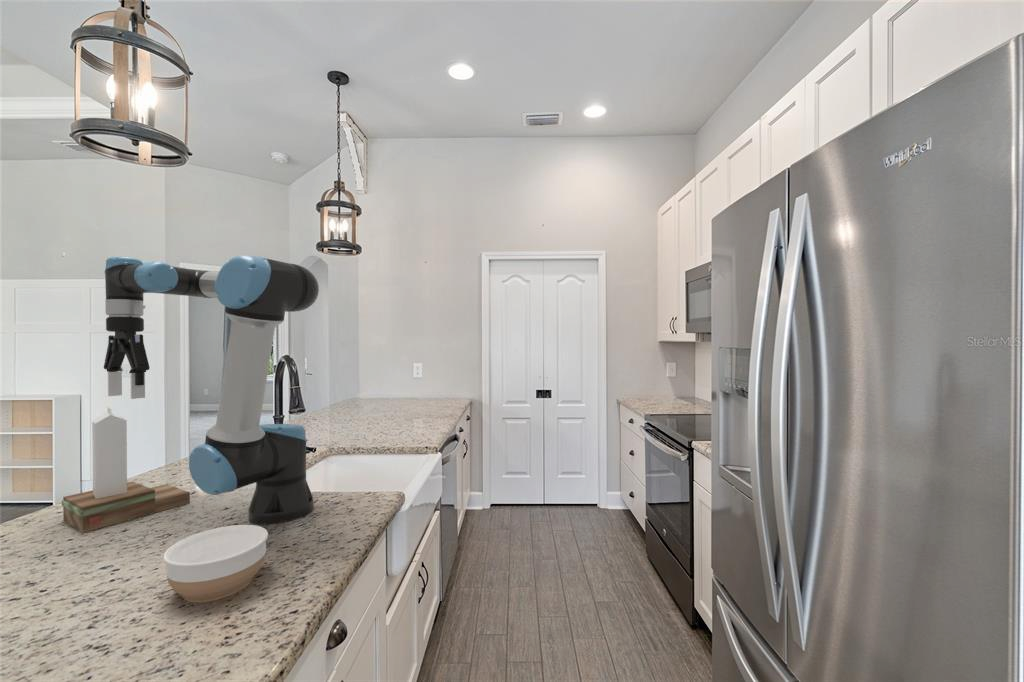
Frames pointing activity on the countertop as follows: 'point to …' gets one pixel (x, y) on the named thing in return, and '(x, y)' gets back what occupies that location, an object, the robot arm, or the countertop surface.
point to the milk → (109, 455)
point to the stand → (120, 505)
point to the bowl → (215, 562)
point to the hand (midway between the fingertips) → (126, 397)
